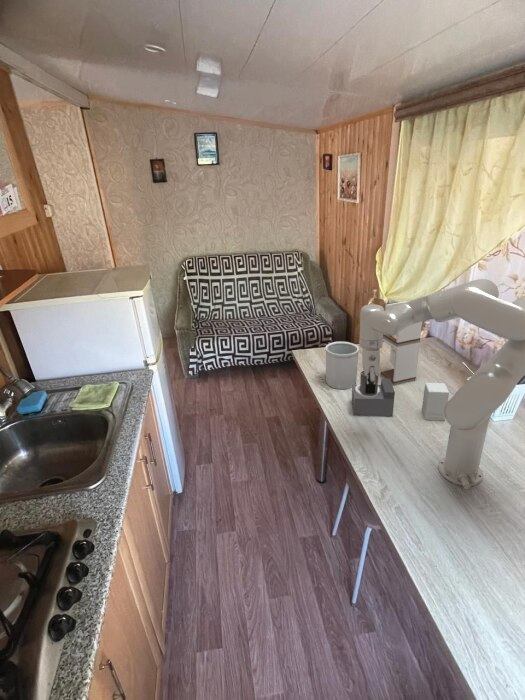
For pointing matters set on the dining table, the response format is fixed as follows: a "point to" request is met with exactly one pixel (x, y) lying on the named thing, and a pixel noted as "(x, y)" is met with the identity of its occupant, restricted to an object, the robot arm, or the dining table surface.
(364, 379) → the lens
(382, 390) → the camera body
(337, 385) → the utensil holder
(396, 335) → the slotted white tower
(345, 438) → the dining table surface
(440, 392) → the supplement box
